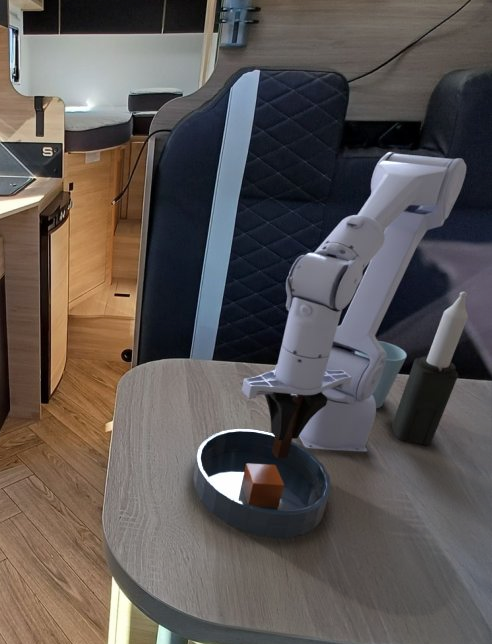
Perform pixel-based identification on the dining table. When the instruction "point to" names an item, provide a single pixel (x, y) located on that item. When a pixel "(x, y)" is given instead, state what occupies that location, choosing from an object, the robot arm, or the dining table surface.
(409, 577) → the dining table surface
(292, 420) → the stick
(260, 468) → the block
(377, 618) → the dining table surface
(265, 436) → the bowl
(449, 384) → the candle
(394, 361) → the cup
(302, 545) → the dining table surface
